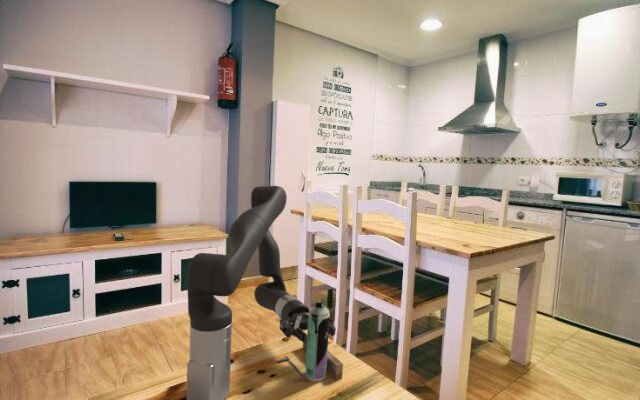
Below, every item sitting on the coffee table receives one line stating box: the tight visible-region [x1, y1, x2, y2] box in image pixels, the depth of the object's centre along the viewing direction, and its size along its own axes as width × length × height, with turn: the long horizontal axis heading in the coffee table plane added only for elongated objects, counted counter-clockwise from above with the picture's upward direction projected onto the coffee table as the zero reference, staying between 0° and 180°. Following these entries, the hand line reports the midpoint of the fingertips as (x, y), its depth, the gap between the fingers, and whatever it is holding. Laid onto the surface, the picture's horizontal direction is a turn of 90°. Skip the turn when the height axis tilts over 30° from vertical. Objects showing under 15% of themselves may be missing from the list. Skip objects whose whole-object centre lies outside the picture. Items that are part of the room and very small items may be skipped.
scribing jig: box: [276, 333, 344, 384], centre depth 95 cm, size 18×12×4 cm, turn 31°
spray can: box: [304, 300, 331, 382], centre depth 91 cm, size 6×6×20 cm
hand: (320, 335), depth 90 cm, fingers open, 8 cm apart
